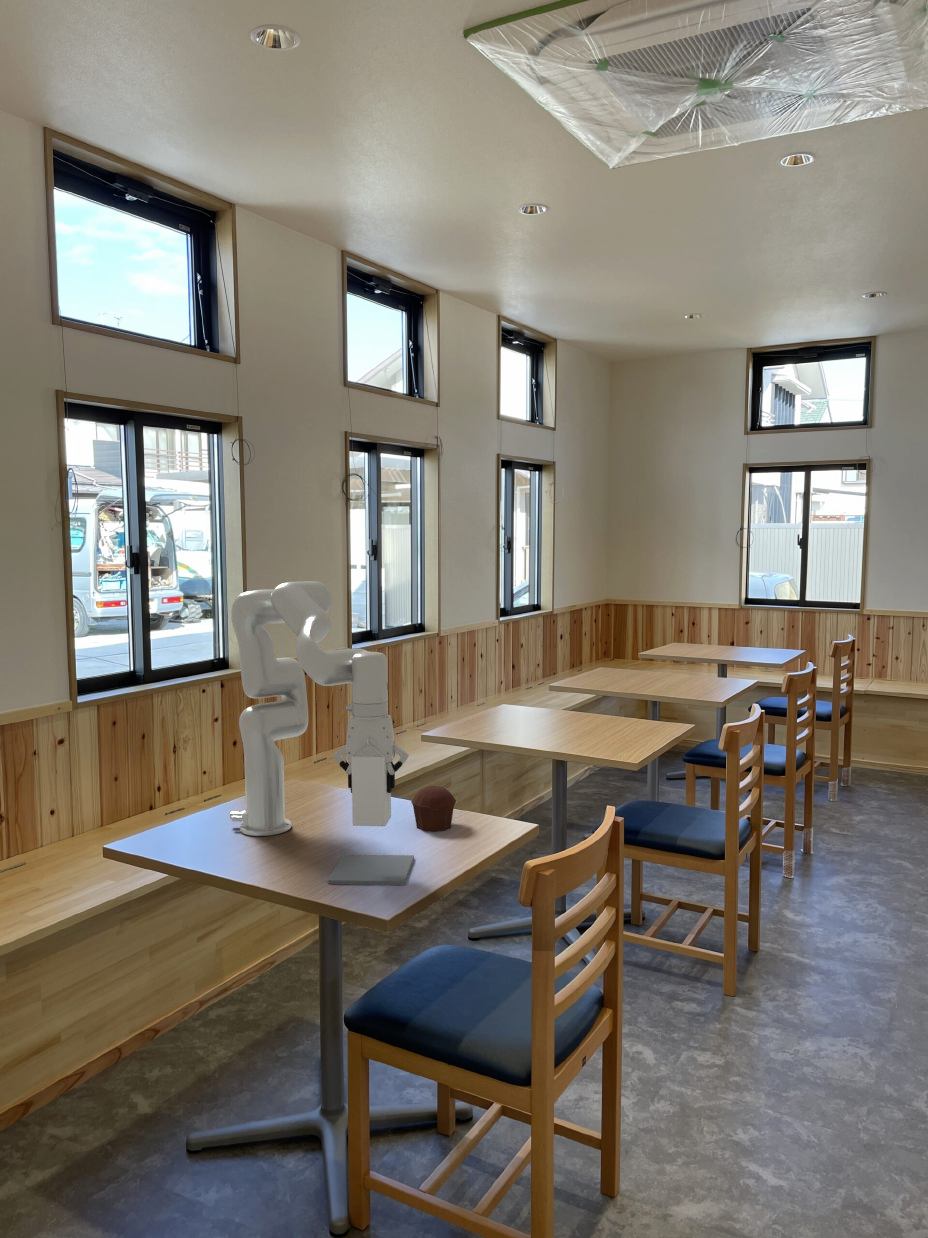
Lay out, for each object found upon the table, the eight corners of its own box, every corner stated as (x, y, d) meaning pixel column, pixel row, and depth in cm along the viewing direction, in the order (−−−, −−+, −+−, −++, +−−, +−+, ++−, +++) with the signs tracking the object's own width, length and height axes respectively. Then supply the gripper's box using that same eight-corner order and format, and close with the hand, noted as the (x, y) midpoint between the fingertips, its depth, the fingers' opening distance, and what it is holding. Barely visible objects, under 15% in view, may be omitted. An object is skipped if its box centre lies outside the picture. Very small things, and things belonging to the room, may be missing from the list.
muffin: (461, 831, 219) (461, 791, 218) (418, 835, 216) (417, 795, 215) (448, 818, 230) (448, 780, 230) (407, 822, 227) (406, 783, 227)
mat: (328, 884, 185) (328, 880, 185) (343, 857, 201) (343, 854, 201) (404, 885, 184) (404, 881, 184) (414, 858, 199) (414, 855, 199)
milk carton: (391, 817, 194) (390, 731, 193) (385, 827, 187) (383, 738, 186) (359, 816, 195) (358, 731, 194) (352, 826, 188) (350, 738, 187)
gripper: (326, 713, 186) (328, 795, 188) (408, 713, 185) (409, 796, 186) (333, 707, 194) (335, 786, 195) (412, 707, 193) (414, 787, 194)
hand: (371, 790), depth 191 cm, fingers closed on milk carton, 7 cm apart
